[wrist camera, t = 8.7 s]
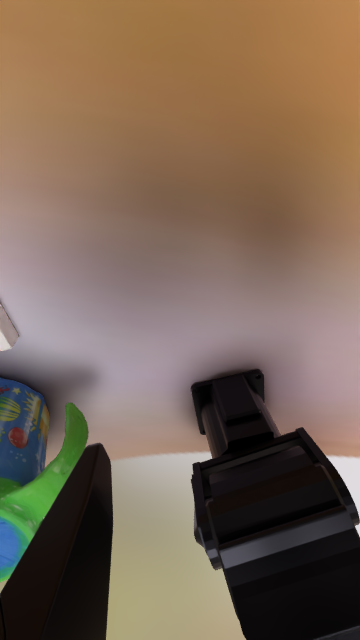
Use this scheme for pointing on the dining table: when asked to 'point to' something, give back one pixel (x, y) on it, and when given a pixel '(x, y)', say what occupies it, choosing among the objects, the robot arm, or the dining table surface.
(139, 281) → the dining table surface
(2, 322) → the white square base
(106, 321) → the dining table surface
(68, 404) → the snack cup
